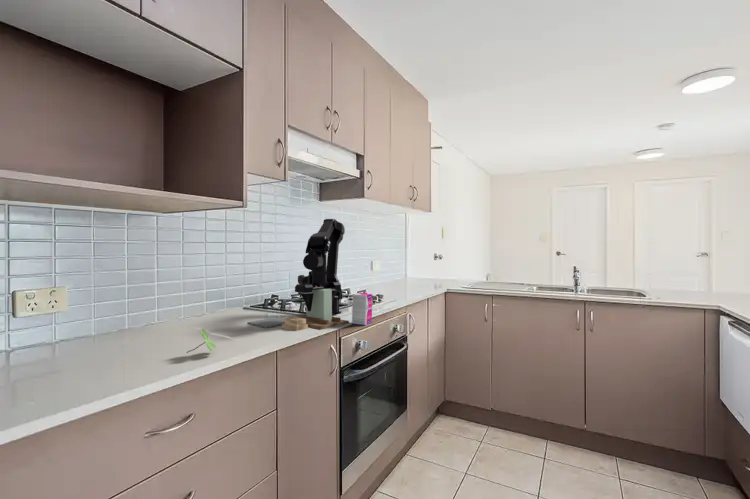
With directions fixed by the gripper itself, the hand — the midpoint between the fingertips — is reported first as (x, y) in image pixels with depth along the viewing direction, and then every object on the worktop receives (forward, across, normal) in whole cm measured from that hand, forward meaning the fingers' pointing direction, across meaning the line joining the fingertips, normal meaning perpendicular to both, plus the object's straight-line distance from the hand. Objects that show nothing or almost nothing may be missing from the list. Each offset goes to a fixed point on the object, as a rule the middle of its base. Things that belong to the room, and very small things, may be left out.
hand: (318, 309), depth 146 cm
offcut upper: (+4, +11, 0) cm, 12 cm away
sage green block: (+4, 0, 0) cm, 4 cm away
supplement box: (+5, -9, +14) cm, 18 cm away
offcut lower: (+6, +11, 0) cm, 13 cm away
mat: (+5, +11, -14) cm, 18 cm away
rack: (+5, 0, 0) cm, 5 cm away
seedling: (+6, +51, +4) cm, 51 cm away
